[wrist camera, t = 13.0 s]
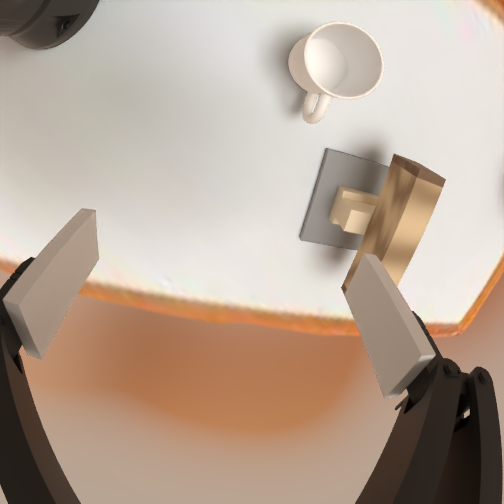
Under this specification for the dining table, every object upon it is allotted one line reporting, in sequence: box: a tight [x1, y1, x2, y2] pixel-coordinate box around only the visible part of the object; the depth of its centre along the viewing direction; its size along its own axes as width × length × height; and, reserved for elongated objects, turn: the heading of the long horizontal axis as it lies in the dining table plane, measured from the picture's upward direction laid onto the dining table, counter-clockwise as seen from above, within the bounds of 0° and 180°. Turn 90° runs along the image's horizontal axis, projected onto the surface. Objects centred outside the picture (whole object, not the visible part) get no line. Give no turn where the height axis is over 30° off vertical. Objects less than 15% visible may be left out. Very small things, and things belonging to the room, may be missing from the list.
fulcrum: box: [300, 148, 389, 250], centre depth 39 cm, size 14×16×7 cm
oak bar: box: [341, 154, 446, 294], centre depth 33 cm, size 20×4×6 cm, turn 169°
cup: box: [288, 22, 384, 124], centre depth 27 cm, size 8×12×10 cm
